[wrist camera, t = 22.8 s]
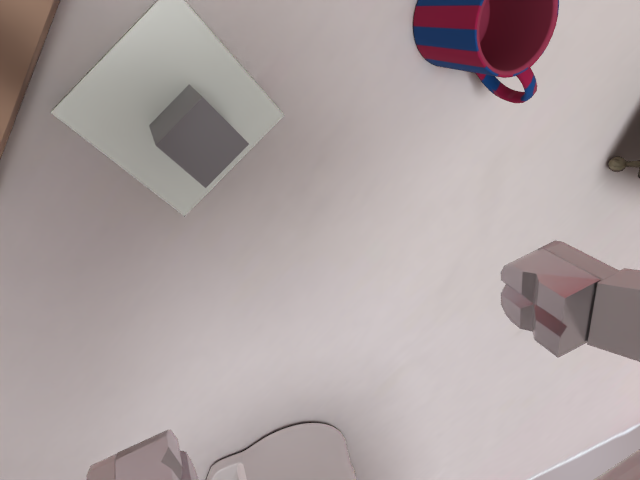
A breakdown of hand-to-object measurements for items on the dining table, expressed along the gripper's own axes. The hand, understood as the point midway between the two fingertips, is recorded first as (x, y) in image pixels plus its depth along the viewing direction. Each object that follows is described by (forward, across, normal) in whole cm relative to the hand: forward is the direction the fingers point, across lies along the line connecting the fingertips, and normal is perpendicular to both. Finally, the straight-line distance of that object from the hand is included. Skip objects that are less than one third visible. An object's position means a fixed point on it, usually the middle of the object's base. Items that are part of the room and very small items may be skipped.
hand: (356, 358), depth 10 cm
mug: (+24, -21, 0) cm, 32 cm away
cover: (+24, +1, -1) cm, 24 cm away
